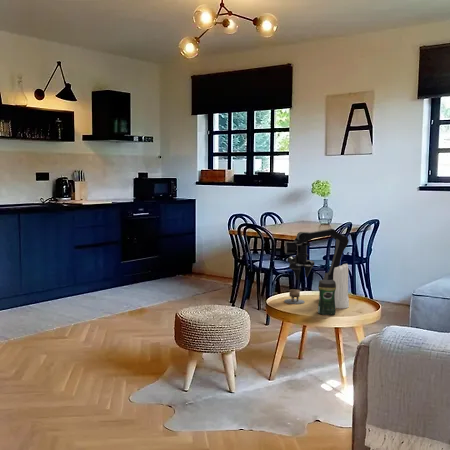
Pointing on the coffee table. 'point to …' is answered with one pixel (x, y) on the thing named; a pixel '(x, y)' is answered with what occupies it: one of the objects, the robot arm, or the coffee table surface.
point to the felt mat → (294, 301)
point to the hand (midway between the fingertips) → (301, 278)
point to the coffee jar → (326, 297)
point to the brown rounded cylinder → (294, 294)
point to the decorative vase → (341, 286)
